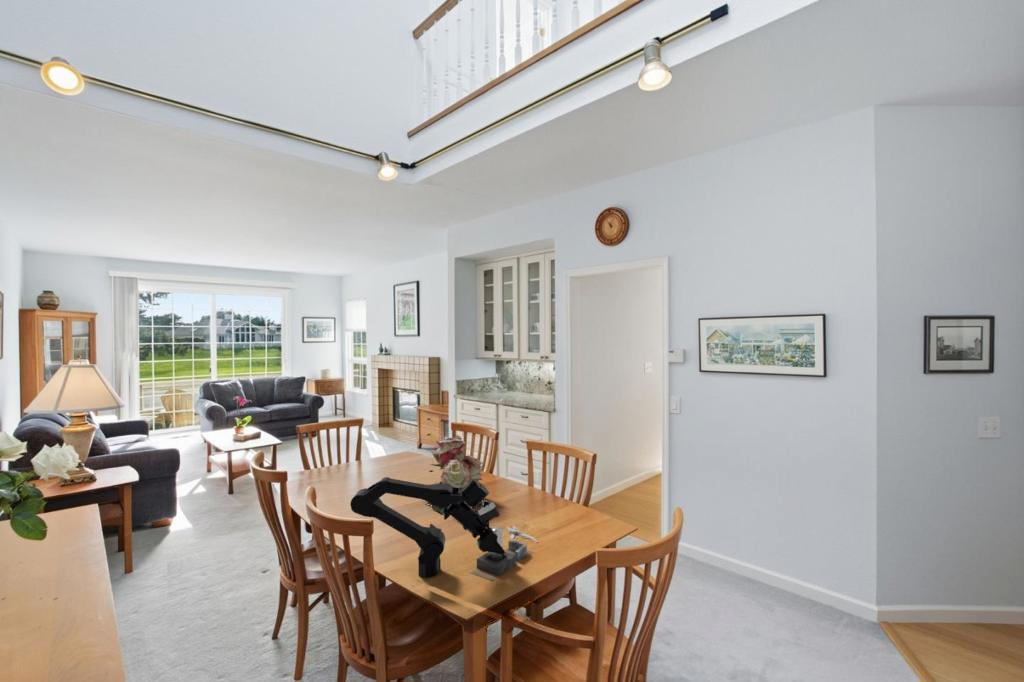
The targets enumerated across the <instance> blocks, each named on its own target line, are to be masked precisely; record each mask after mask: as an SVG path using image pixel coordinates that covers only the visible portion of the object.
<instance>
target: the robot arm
mask: <svg viewBox="0 0 1024 682" xmlns="http://www.w3.org/2000/svg"><path fill="white" fill-rule="evenodd" d="M385 494H390V495H394V496H400V497H408V498H412V499H419V500H421V501H422V500H425V501H427V502H429V503H430V504H432V505H435V506H438V507H441V508H443V512H444V514H443V519H444V520H445V521H446V520H447V519H448V518H449V517H450V516H451V517H452V518H453V519H454V520H455V521H456V522H458V523H459V525H461V527H462V528H463V530H465V531H468V532H469V533H470V534H471V536H472V538H474V539H476V538H477V537H478V538H477V539H476V545H477V547H478V550H479V551H481V552H482V553H487V552H493V553H497V554H502V555H503V554H504V553H505V549H504V547H503V548H502V547H501V545H500V544H499V543H498V542H497V538H498V536H497V534H496V533H495V532H494V531H493V530H492V529H491V528H492V527H490V522H491V521H492V520H493V519H494V520H495V519H496V518H498V517H499V516H500V514H501V513H500V512H499V509H498V508H497V506H496V504H495V502H492V501H488V500H487V499H485V498H486V497H488V495H490V492H489V490H488V489H487V487H486V486H485V485H484V484H483V483H481V482H479V481H476V480H475V479H472V480H471V481H470V483H469V484H468V485H467V486H466V487H465V488H464V489H463V488H457V487H451V485H449V484H437V483H432V484H424V483H419V482H413V481H406V480H401V479H396V478H391V477H389V476H387V477H386V476H385V477H383V478H382V479H380V480H379V481H377V482H376V483H374V484H372V485H371V486H369V487H367V488H362V489H359V490H358V491H357V492H356V493H355V495H354V496H353V497H352V498H351V500H350V510H351V511H352V512H353V513H355V514H356V515H359V516H362V517H367V518H373V519H376V520H378V521H380V522H381V523H383V524H385V525H387V526H388V527H390V528H391V529H394V530H395V531H397V532H399V533H400V534H402V535H404V536H406V537H407V538H409V539H411V540H412V541H414V542H415V543H416V545H418V547H419V549H420V550H419V552H418V553H419V554H418V557H417V559H418V576H419V577H420V578H424V579H428V578H433V577H436V576H437V575H439V572H440V571H441V569H442V568H441V565H442V564H441V558H440V557H441V555H442V553H443V552H444V549H445V545H446V536H445V533H444V532H443V531H442V528H439V527H436V526H435V525H434V524H433V523H430V524H429V526H422V525H421V524H418V523H416V522H415V521H414V520H412V519H411V518H408V517H406V516H405V515H403V514H401V513H400V512H398V511H397V510H395V509H393V508H391V507H390V506H388V505H387V504H385V503H383V501H382V500H381V497H382V496H384V495H385ZM482 500H484V501H483V502H482ZM464 501H465V502H466V503H467V504H468V505H469V506H468V505H467V504H466V503H465V502H464ZM427 502H426V503H427ZM481 502H482V503H481ZM450 504H451V505H450ZM449 505H450V506H449ZM479 505H482V506H481V507H480V509H479V510H477V509H476V508H477V507H479ZM448 506H449V507H448ZM474 506H475V507H474ZM446 507H447V508H446ZM471 507H474V508H471Z"/></svg>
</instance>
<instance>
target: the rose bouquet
mask: <svg viewBox="0 0 1024 682" xmlns="http://www.w3.org/2000/svg"><path fill="white" fill-rule="evenodd" d="M462 439H463V437H461V436H460V435H459V434H456V436H453V437H447V438H444V439H443V440H440V441H436V444H437V445H438V446H439V447H438V448H434V449H431V448H430V452H431V454H432V456H433V458H434V459H435V460H436V462H437V463H430V464H429V466H434V467H440V468H439V470H442V473H441V475H440V481H439V482H437V481H436V482H434V484H449V485H451V487H457V488H463V489H464V488H465V487H466V486H467V485H468V484H469V483H470V481H471V480H472V479H475V480H476V481H478V482H479V481H482V480H483V479H482V476H483V474H482V473H481V472H482V471H483V469H482V468H483V466H482V465H483V462H482V461H481V460H479V459H478V458H476V457H474V456H473V455H469V454H468V455H467V454H466V452H467V450H466V449H464V447H465V445H466V444H467V443H466V441H464V440H462ZM428 472H429V473H433V472H434V470H429V471H428ZM464 502H465V501H464ZM482 502H483V501H482ZM482 502H481V503H480V504H482ZM426 503H427V502H426ZM465 503H466V502H465ZM427 504H430V503H429V502H428V503H427ZM466 504H467V503H466ZM430 505H432V504H430ZM450 505H451V504H450ZM450 505H449V506H450ZM467 505H468V504H467ZM449 506H448V507H449ZM468 506H469V505H468ZM431 508H432V509H433V510H434V511H435V512H439V513H441V514H442V515H444V512H443V508H441V507H438V506H435V505H432V507H431ZM446 508H447V507H446ZM474 508H476V507H475V506H474ZM474 508H473V507H472V509H474Z"/></svg>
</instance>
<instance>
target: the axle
mask: <svg viewBox="0 0 1024 682" xmlns="http://www.w3.org/2000/svg"><path fill="white" fill-rule="evenodd" d="M490 528H491V529H492V530H493V531H494V532H495V533H496V534H497V536H498V538H497V542H498V543H499V544H500V545H501V547H502V548H503V549H504V545H503V544H504V539H503V537H504V536H503V531H504V530H503V527H501V526H492V527H490ZM490 560H492V561H495V562H500V561H501V560H503V555H502V554H497V553H493V552H490Z"/></svg>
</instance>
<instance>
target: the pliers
mask: <svg viewBox="0 0 1024 682" xmlns="http://www.w3.org/2000/svg"><path fill="white" fill-rule="evenodd" d="M505 530H507V531H506V532H507V533H509V534H510V536H509V538H510V539H511V540H517V539H518V536H519V535H520V536H519V538H520V537H521V539H528V538H529V539H530V540H531V539H532V541H533V542H534V541H535V542H534V543H536V544H537V542H538V540H537V539H536V538H535V537H533V536H531V535H528V534H525V533H523V532H521V531H520V530H519V529H518V528H517V527H516V525H513V526H512V528H510V527H509V526H506V527H505ZM515 534H516V535H518V536H516V535H515ZM515 536H516V537H515ZM522 536H523V537H522ZM513 538H514V539H513Z"/></svg>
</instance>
